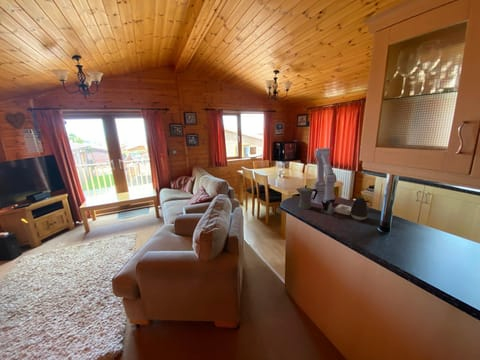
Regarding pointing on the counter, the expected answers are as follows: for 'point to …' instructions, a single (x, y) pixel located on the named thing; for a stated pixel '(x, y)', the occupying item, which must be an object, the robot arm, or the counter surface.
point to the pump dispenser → (359, 209)
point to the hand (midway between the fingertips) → (328, 209)
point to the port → (343, 209)
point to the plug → (329, 208)
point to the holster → (328, 213)
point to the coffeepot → (305, 197)
